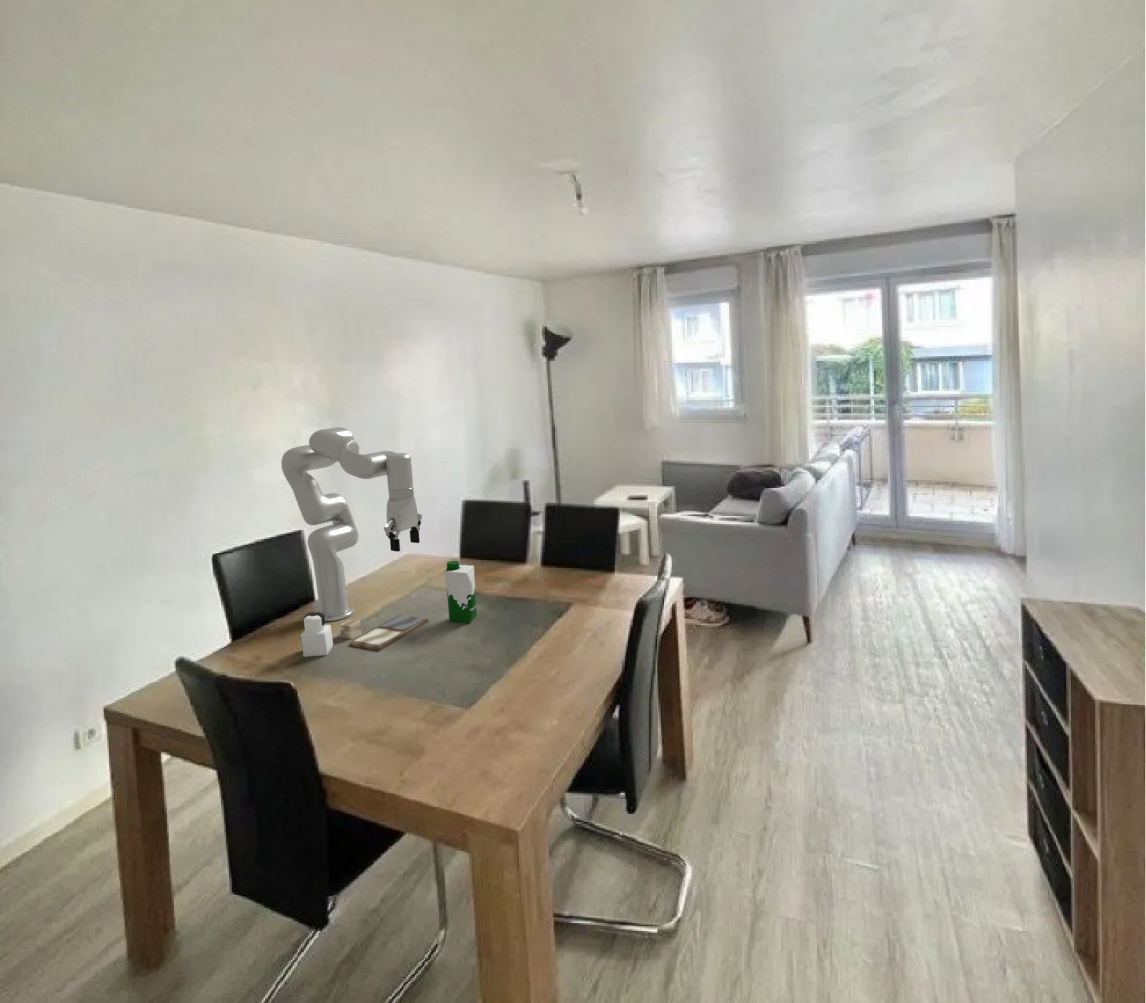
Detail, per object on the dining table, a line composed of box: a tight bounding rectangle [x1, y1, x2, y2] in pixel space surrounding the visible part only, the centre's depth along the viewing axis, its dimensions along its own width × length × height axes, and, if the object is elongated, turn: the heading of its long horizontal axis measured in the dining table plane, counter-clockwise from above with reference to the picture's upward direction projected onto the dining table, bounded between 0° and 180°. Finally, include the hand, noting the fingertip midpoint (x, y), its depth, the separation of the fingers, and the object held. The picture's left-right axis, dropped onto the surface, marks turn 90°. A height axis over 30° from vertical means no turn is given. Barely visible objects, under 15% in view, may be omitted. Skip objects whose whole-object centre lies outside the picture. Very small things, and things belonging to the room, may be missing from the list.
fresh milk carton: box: [443, 560, 477, 624], centre depth 221 cm, size 9×9×20 cm
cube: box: [339, 619, 363, 640], centre depth 213 cm, size 4×4×4 cm
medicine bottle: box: [300, 611, 334, 658], centre depth 201 cm, size 7×7×12 cm
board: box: [349, 614, 429, 652], centre depth 214 cm, size 12×24×1 cm, turn 155°
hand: (405, 546), depth 207 cm, fingers open, 9 cm apart
